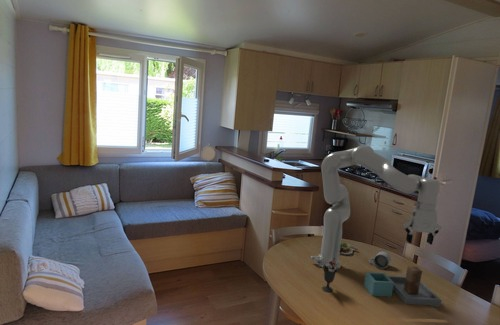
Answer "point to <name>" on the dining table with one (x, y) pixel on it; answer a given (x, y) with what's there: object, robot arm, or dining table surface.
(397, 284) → the tray
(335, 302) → the dining table surface
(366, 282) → the teal open box
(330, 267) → the sundae
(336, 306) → the dining table surface
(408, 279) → the peg
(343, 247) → the salad plate
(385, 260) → the ceramic mug
